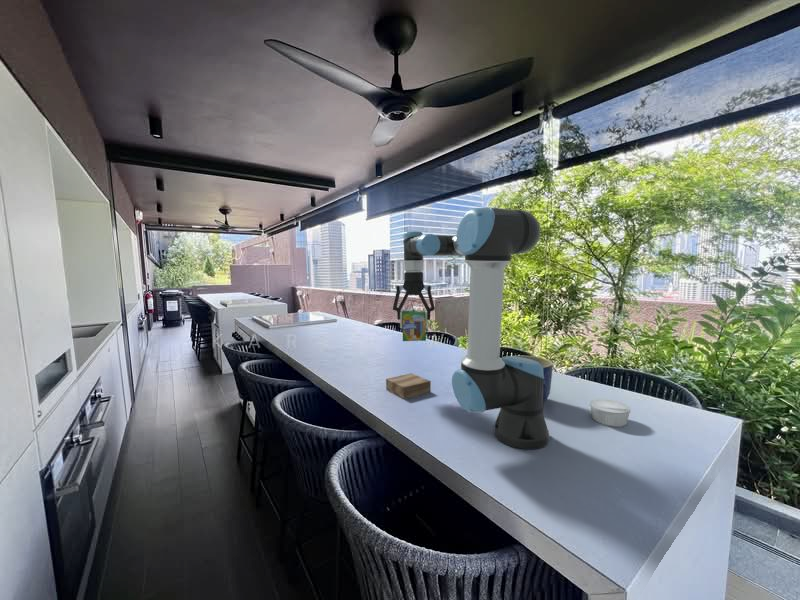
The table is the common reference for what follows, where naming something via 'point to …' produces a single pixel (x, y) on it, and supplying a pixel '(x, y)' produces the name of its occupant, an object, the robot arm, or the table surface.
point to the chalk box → (414, 325)
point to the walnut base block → (408, 386)
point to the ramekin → (609, 412)
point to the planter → (546, 372)
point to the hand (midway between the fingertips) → (413, 327)
